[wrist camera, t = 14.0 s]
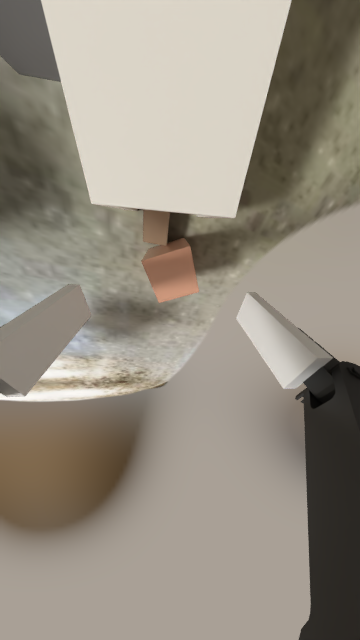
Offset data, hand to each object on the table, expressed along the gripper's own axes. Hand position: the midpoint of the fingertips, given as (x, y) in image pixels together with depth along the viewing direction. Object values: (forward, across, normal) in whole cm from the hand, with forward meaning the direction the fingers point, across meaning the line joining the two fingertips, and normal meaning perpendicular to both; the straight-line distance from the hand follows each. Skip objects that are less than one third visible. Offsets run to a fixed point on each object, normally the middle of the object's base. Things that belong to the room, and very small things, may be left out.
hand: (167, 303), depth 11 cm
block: (+9, 0, +1) cm, 9 cm away
